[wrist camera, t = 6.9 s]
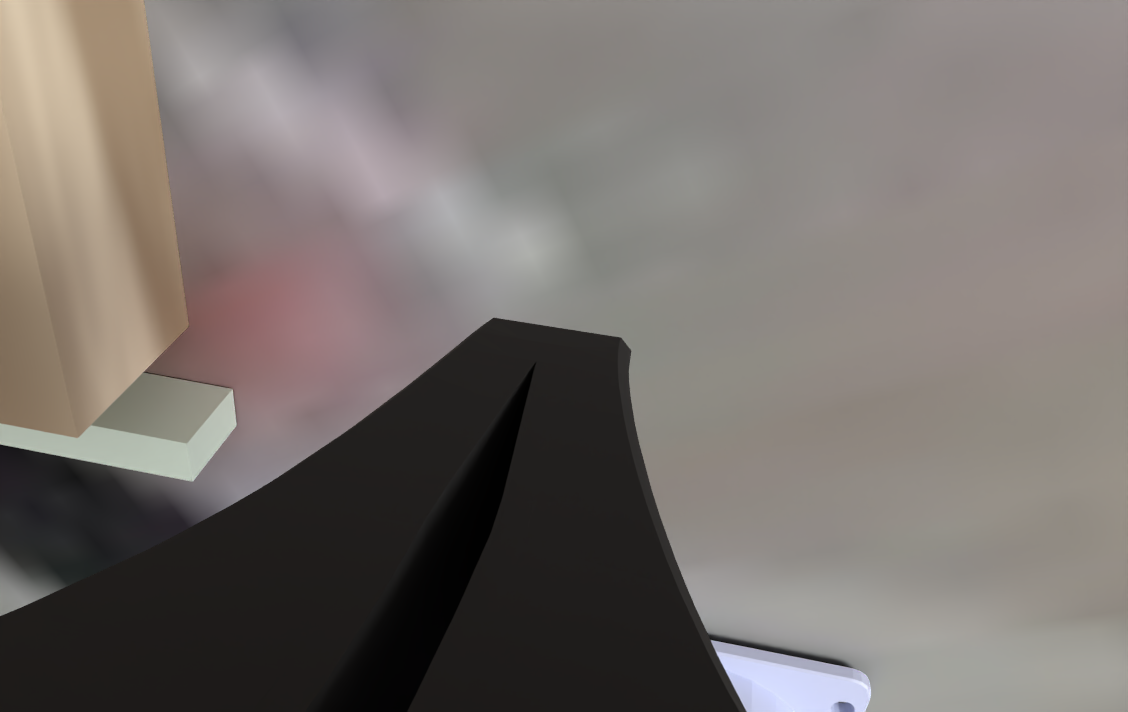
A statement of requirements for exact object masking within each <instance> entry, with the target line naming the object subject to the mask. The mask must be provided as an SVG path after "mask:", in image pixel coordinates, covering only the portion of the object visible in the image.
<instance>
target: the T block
mask: <svg viewBox="0 0 1128 712" xmlns="http://www.w3.org/2000/svg"><path fill="white" fill-rule="evenodd" d="M188 327H189V322H188V315H187V308H186V300H185V293H184V286H183V279H182V272H181V264H180V257H179V250H178V243H177V236H176V228H175V221H174V214H173V207H172V200H171V192H170V185H169V178H168V171H167V164H166V156H165V149H164V142H163V135H162V127H161V120H160V113H159V106H158V99H157V91H156V84H155V77H154V70H153V63H152V55H151V48H150V41H149V34H148V27H147V19H146V12H145V5H144V0H0V423H1V424H6V425H11V426H17V427H22V428H27V429H32V430H38V431H43V432H48V433H53V434H59V435H64V436H69V437H74V438H79V437H80V436H81V435H82V434H83V433H84V432H85V430H86V429H87V428H88V427H89V426H90V425H91V424H92V423H93V422H94V421H95V420H96V419H97V418H98V417H99V416H100V415H101V414H102V413H103V412H104V411H105V410H106V409H107V408H108V407H109V406H110V405H111V404H112V403H113V402H114V401H115V400H116V399H117V398H118V397H119V396H120V395H121V394H122V393H123V392H124V391H125V390H126V389H127V388H128V387H129V386H130V385H131V384H132V383H133V382H134V381H135V380H136V379H137V378H138V377H139V376H140V375H141V374H142V373H143V372H144V371H145V370H146V369H147V368H148V367H149V366H150V365H151V364H152V363H153V362H154V361H155V360H156V359H157V358H158V357H159V356H160V355H161V354H162V353H163V352H164V351H165V350H166V349H167V348H168V347H169V346H170V345H171V344H172V343H173V342H174V341H175V340H176V339H177V338H178V337H179V336H180V335H181V334H182V333H183V332H184V331H185V330H186V329H187V328H188Z"/></svg>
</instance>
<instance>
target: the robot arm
mask: <svg viewBox="0 0 1128 712" xmlns="http://www.w3.org/2000/svg"><path fill="white" fill-rule="evenodd" d="M630 356H631V350H630V349H629V347H628V346H627V345H626V343H625V342H624V341H623V340H622V338H619V337H613V336H607V335H600V334H594V333H587V332H581V331H575V330H568V329H562V328H556V327H549V326H543V325H536V324H530V323H524V322H517V321H511V320H505V319H498V318H493V319H491V320H490V321H488V322H487V323H486V324H484V325H483V326H481V327H480V328H479V329H478V330H476V331H475V332H474V333H472V334H471V335H470V336H469V337H467V338H466V339H465V340H464V341H463V342H461V343H460V344H459V345H458V346H456V347H455V348H454V349H453V350H452V351H450V352H449V353H448V354H447V355H445V356H444V357H443V358H442V359H440V360H439V361H438V362H437V363H436V364H434V365H433V366H432V367H431V368H429V369H428V370H427V371H426V372H424V373H423V374H422V375H421V376H419V377H418V378H417V379H416V380H414V381H413V382H412V383H411V384H409V385H408V386H407V387H405V388H404V389H403V390H401V391H400V392H399V393H397V394H396V395H395V396H393V397H392V398H391V399H389V400H388V401H387V402H385V403H384V404H383V405H381V406H380V407H379V408H377V409H376V410H375V411H373V412H372V413H371V414H369V415H368V416H367V417H366V418H364V419H363V420H362V421H360V422H359V423H357V424H356V425H355V426H353V427H352V428H351V429H349V430H348V431H346V432H345V433H344V434H342V435H341V436H339V437H338V438H336V439H335V440H333V441H332V442H330V443H329V444H327V445H326V446H324V447H323V448H321V449H320V450H318V451H317V452H315V453H314V454H312V455H311V456H309V457H308V458H306V459H305V460H303V461H302V462H300V463H299V464H297V465H296V466H294V467H293V468H291V469H290V470H288V471H287V472H285V473H284V474H282V475H281V476H279V477H278V478H276V479H275V480H273V481H272V482H270V483H268V484H267V485H265V486H263V487H262V488H260V489H258V490H257V491H255V492H253V493H252V494H250V495H248V496H246V497H245V498H243V499H241V500H240V501H238V502H236V503H234V504H233V505H231V506H229V507H227V508H226V509H224V510H222V511H220V512H218V513H216V514H214V515H213V516H211V517H209V518H207V519H205V520H203V521H201V522H200V523H198V524H196V525H194V526H192V527H190V528H189V529H187V530H185V531H183V532H181V533H179V534H177V535H176V536H174V537H172V538H170V539H168V540H166V541H164V542H162V543H160V544H158V545H156V546H154V547H152V548H150V549H148V550H146V551H144V552H142V553H140V554H137V555H135V556H133V557H131V558H129V559H126V560H124V561H122V562H120V563H118V564H116V565H113V566H111V567H109V568H107V569H105V570H102V571H100V572H98V573H96V574H94V575H92V576H89V577H87V578H85V579H83V580H81V581H78V582H76V583H74V584H72V585H70V586H68V587H65V588H63V589H61V590H59V591H57V592H54V593H52V594H50V595H48V596H46V597H44V598H41V599H39V600H37V601H35V602H33V603H30V604H28V605H26V606H24V607H21V608H19V609H17V610H14V611H12V612H9V613H7V614H5V615H2V616H0V712H865V710H866V708H867V705H868V703H869V700H870V697H871V688H870V681H869V679H868V677H867V676H866V675H865V674H864V673H862V672H861V671H859V670H856V669H853V668H849V667H844V666H839V665H834V664H829V663H824V662H819V661H814V660H809V659H804V658H799V657H794V656H789V655H784V654H779V653H774V652H769V651H764V650H759V649H754V648H749V647H744V646H739V645H734V644H729V643H724V642H719V641H714V640H710V638H709V636H708V634H707V632H706V630H705V627H704V625H703V623H702V621H701V619H700V617H699V614H698V612H697V610H696V608H695V606H694V603H693V601H692V599H691V596H690V594H689V592H688V589H687V587H686V585H685V582H684V580H683V577H682V575H681V572H680V570H679V567H678V565H677V562H676V560H675V557H674V554H673V551H672V549H671V546H670V543H669V540H668V538H667V535H666V532H665V529H664V526H663V524H662V521H661V518H660V515H659V512H658V509H657V506H656V503H655V499H654V496H653V493H652V490H651V486H650V483H649V479H648V475H647V471H646V468H645V464H644V460H643V456H642V453H641V449H640V445H639V441H638V437H637V432H636V427H635V422H634V416H633V410H632V404H631V397H630V388H629V363H630ZM838 702H846V703H838Z"/></svg>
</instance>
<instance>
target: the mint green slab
mask: <svg viewBox="0 0 1128 712" xmlns="http://www.w3.org/2000/svg"><path fill="white" fill-rule="evenodd" d="M236 426H237V423H236V415H235V406H234V397H233V389H230V388H225V387H219V386H214V385H209V384H203V383H198V382H192V381H187V380H181V379H176V378H170V377H165V376H159V375H154V374H148V373H142V374H141V375H140V376H139V377H138V378H137V379H136V380H135V381H134V382H133V383H132V384H131V385H130V386H129V387H128V388H127V389H126V390H125V391H124V392H123V393H122V394H121V395H120V396H119V397H118V398H117V399H116V400H115V401H114V402H113V403H112V404H111V405H110V406H109V407H108V408H107V409H106V410H105V411H104V412H103V413H102V414H101V415H100V416H99V417H98V418H97V419H96V420H95V421H94V422H93V423H92V424H91V425H90V426H89V427H88V428H87V429H86V430H85V432H84V433H83V434H82V435H81V436H80V437H79V438H74V437H69V436H64V435H59V434H53V433H48V432H43V431H38V430H32V429H27V428H22V427H17V426H11V425H6V424H1V423H0V444H1V445H6V446H11V447H17V448H22V449H27V450H32V451H37V452H42V453H48V454H53V455H58V456H63V457H68V458H73V459H79V460H84V461H89V462H94V463H99V464H104V465H109V466H115V467H120V468H125V469H130V470H135V471H140V472H146V473H151V474H156V475H161V476H166V477H171V478H177V479H182V480H187V481H192V482H193V481H194V479H195V478H196V477H197V476H198V474H199V473H200V472H201V470H202V469H203V468H204V467H205V465H206V464H207V463H208V462H209V460H210V459H211V458H212V456H213V455H214V454H215V453H216V451H217V450H218V449H219V447H220V446H221V445H222V444H223V442H224V441H225V440H226V438H227V437H228V436H229V435H230V433H231V432H232V431H233V430H234V428H235V427H236Z"/></svg>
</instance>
